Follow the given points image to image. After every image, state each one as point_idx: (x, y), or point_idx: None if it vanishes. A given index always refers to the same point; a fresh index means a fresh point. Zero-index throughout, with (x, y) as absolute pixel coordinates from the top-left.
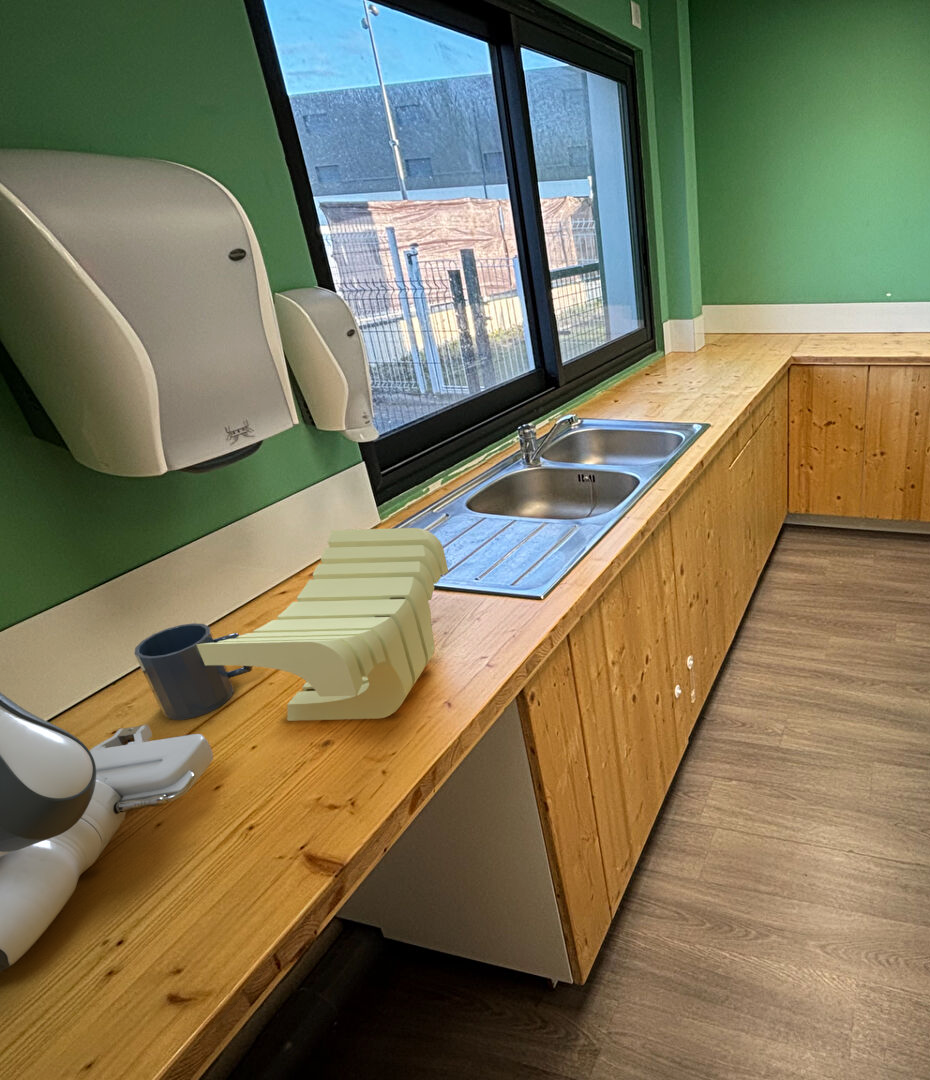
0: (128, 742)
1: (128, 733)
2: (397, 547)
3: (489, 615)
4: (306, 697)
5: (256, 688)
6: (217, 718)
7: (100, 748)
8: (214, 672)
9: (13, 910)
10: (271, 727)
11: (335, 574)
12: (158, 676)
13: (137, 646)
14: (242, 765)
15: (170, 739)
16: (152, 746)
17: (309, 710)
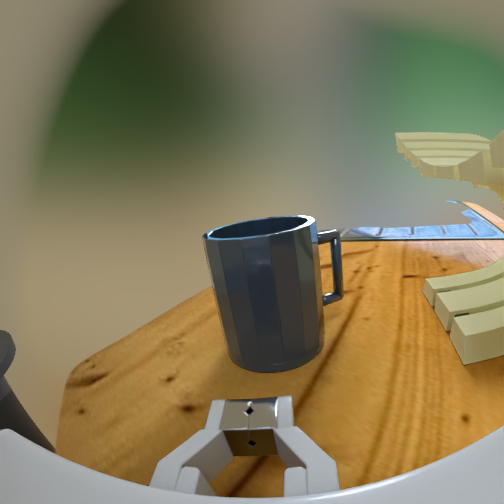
0: (250, 447)
1: (251, 423)
2: (474, 143)
3: (497, 249)
4: (477, 322)
5: (351, 325)
6: (332, 372)
7: (186, 475)
8: (320, 289)
9: None
10: (451, 379)
11: (441, 156)
12: (248, 283)
13: (204, 234)
14: None
15: (496, 447)
16: (458, 495)
17: (494, 341)
